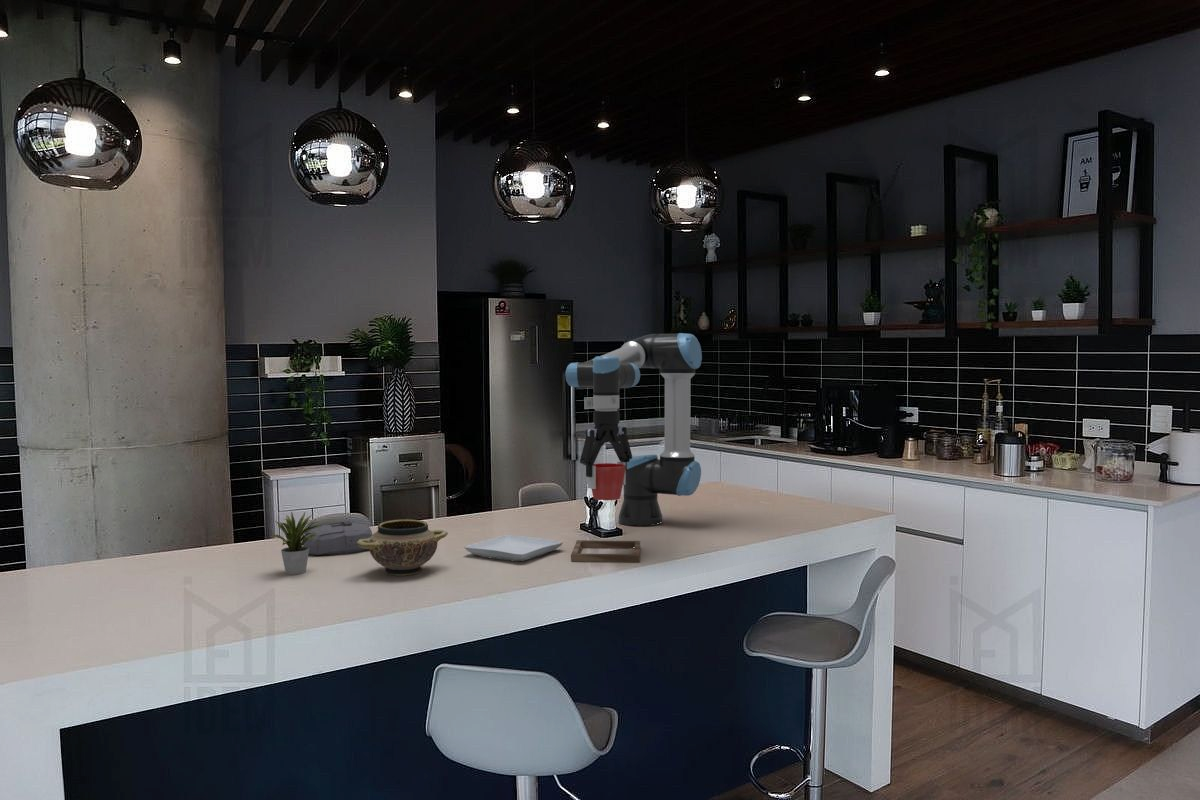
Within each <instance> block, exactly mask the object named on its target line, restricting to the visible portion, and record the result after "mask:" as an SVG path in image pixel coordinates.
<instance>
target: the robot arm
mask: <svg viewBox="0 0 1200 800" xmlns="http://www.w3.org/2000/svg"><path fill="white" fill-rule="evenodd" d="M702 360H703V354H702V347H701V344H700V342H699V341H698V338H697V337H696V336H695V335H694V334H692V333H683V332H679V333H652V334H647V335H643V336H640V337H637V338H634V339H632V340H629V341H626V342H625V343H624V344H623V345H621V347H620V348H617V349H615V350H612V351H610V352H607V353H605V354H602V355H600V356H598V355H597V356H595V357H594V358H592V359H590V360H587V361H584V362H578V361H576V362H571V363H569V364H568V365H567V367H566V369H565V381H566V383H567V385H568V386H570V387H571V388H572V387H573V388H579V389H581V388H592V389H593V397H592V401H593V402H592V404H593V405H592V408H593V410H594V411H593V419H592V420H593V421H592V422H593V425H594V428H593V429H591V428H589V429H588V428H587V429H585V440H584V443H583V446H582V447H583V448H582V451H581V456H580V460H579V463H580V464H582V465H583V466H585V476H586V477H587V489H591V490H592V489H596V466H593V464H595V462H596V459H597V457H598V455H599V453H600V451H601V449H602V446H604V444H607V443H610V444H611V447H612V448H613V451H615V455H616V456H617V458H618V460H619V461H617V463H616V464H624V465H626V467H625V474H624V480H623V502H622V504H621V507H620V511H619V514H618V523H619V524H620V525H623V524H625V525H624V526H629V525H652V524H657V523H660V522H662V523H663V514H662V511H661V507H660V504H659V499H658V494H660V495H670V496H671V495H673V496H674V495H675V496H679V497H681V496H684V497H685V496H687V497H688V496H692V495H693V494H695V492H696V491H697V489H698V487H699V484H700V481H701V479H702V478H701V476H702V467H701V463H700V462H698V461H696V460H695V457H696V456H695V454H694V453H693V452H692V451H691V379H692V378H693V377H694V376H695V375H696V370H698V369H699V368H700V367H701V365H702ZM640 369H660V371H659V372H660V375H661V376H662V378H664V449H663V451H662V452H661V453H660V454H659V457H658V455H657V454H643V455H635V456H633V454H632V451H631V447H630V442H629V439H628V435H627V433H628V432H627V431H628V430H627V427H626V426H619V423H620V422H621V420H620V417H621V416H620V411H619V409H620V389H630V388H633V387H635V386H636V385H637V384H638V383H639V382H640V378H641V371H640Z"/></svg>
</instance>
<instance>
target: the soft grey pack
mask: <svg viewBox="0 0 1200 800" xmlns="http://www.w3.org/2000/svg"><path fill="white" fill-rule="evenodd" d="M318 531H320V532H318ZM315 532H316V533H315ZM307 533H315V534H316V536H313V537H312V538H313V539H314V541H313V540H312V539H308V540H307V541H306V542H305V543H304V544H303V546H305V547H309V554H308V555H315V556H336V554H337V555H345V554H346V553H348V554H354V553H353V552H355V553H360V552H359V551H361V552H365V551H369V549H365V548H361V547H359V546H358V545H357V541H358V540H360V539H368V538H370V537H371V536H372V535H373V531H372V529H371V527H370V526H369V525H367V524H364V523H363V524H362V523H354V522H350V520H349V521H346V522H344V521H341V522H336V523H334V522H333V523H328V524H322V525H321V526H317V527H314V528H312V529H310V530H308V531H307ZM307 533H305V534H307ZM315 534H313V535H315ZM310 535H312V534H309V535H307V536H306V537H308V536H310ZM306 537H305V538H306ZM303 540H304V538H303ZM303 540H302V541H303Z"/></svg>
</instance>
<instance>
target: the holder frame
mask: <svg viewBox="0 0 1200 800" xmlns="http://www.w3.org/2000/svg"><path fill="white" fill-rule="evenodd" d="M633 547H635V548H634V549H633V550H634V551H633V553H581V551H582V549H628V548H633ZM640 555H641V540H593V539H592V540H588V539H587V540H582V539H581V540H579V539H578V540H576V542H575V544H574V546H573V548H572V551H571V554H570V562H571V561H574V562H573V563H575V562H576V561H578V562H577V563H640V559H639V558H641V557H640Z"/></svg>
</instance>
